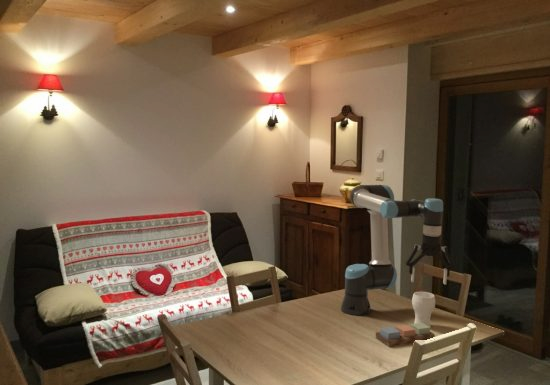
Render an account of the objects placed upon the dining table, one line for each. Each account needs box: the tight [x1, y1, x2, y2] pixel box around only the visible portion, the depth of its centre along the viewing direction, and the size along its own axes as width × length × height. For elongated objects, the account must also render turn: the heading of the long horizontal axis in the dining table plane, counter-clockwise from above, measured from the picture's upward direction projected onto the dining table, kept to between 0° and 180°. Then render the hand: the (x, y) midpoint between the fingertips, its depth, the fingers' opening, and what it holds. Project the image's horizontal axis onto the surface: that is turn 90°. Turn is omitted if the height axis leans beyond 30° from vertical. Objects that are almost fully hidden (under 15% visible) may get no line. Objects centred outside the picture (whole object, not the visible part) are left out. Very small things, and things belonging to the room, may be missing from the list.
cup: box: [411, 291, 436, 328], centre depth 231 cm, size 11×11×15 cm
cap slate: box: [379, 326, 400, 340], centre depth 212 cm, size 6×6×3 cm
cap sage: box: [410, 323, 431, 335], centre depth 218 cm, size 6×6×3 cm
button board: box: [375, 331, 436, 348], centre depth 215 cm, size 24×10×2 cm, turn 111°
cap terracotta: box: [395, 324, 415, 337], centre depth 215 cm, size 6×6×3 cm
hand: (428, 282), depth 212 cm, fingers open, 13 cm apart
